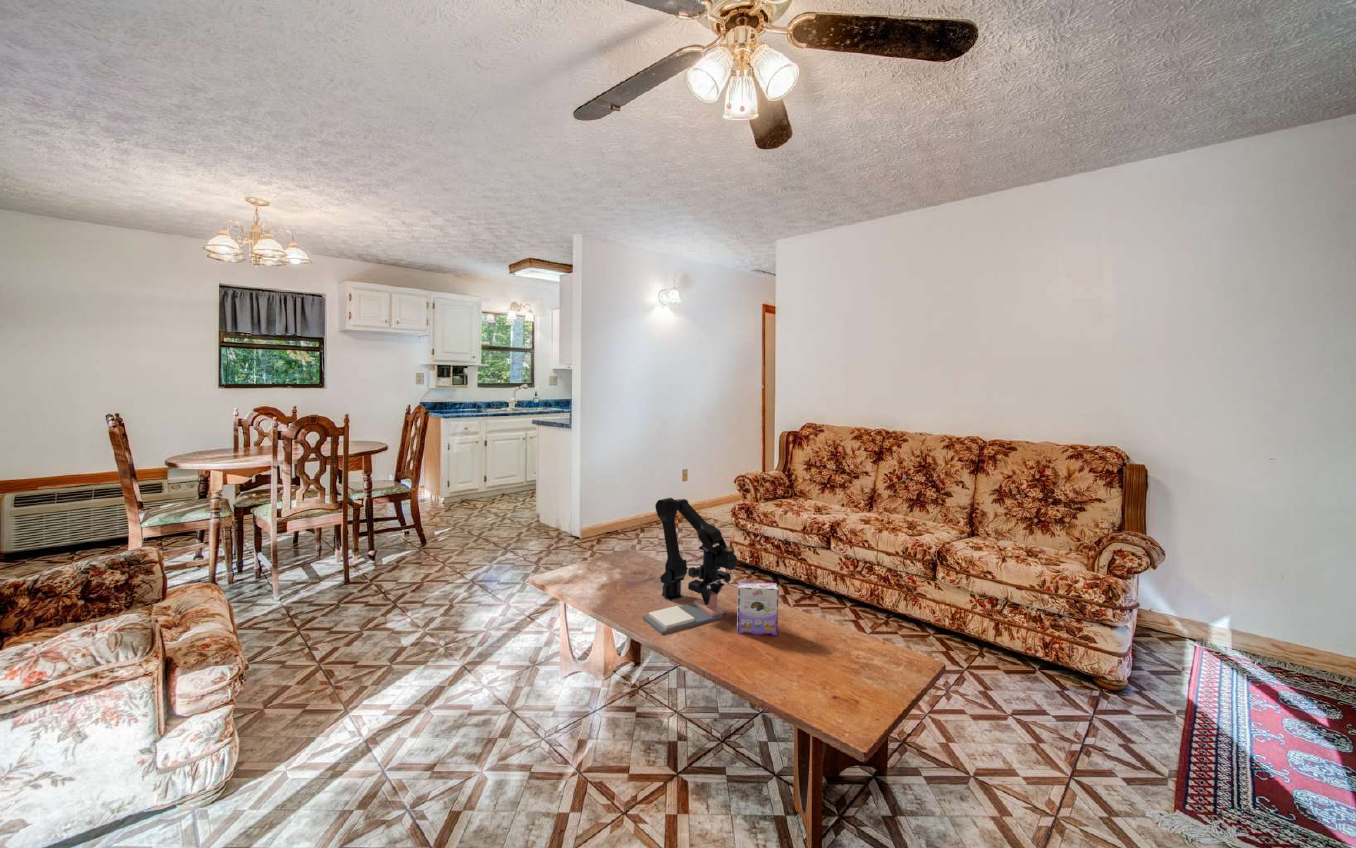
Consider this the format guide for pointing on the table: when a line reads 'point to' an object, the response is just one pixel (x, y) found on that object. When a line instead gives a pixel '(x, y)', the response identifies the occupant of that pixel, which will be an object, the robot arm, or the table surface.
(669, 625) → the spiral notepad
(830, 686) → the table surface
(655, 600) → the table surface
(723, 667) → the table surface
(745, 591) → the candy box
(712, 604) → the stub
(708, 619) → the mat
